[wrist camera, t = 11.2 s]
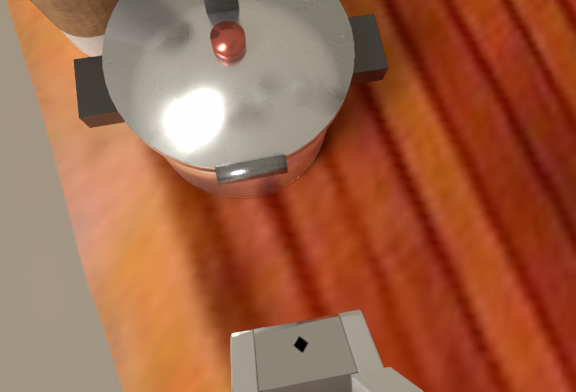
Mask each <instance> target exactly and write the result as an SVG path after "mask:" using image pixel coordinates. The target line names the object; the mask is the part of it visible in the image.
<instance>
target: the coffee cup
mask: <svg viewBox="0 0 576 392" xmlns="http://www.w3.org/2000/svg"><path fill="white" fill-rule="evenodd" d="M30 1H31V2H32V3H33V4H34V5H35V6H36V7H37V8H38V9H39V10H40V11H41V12H42V13H43V14H44V15H45V16H46V17H48V18H49V19H50V20H51V21H52V22H53V23H54V24H55V25H56V26H57V27H58V28H59V29H60V30H61V31H62V32H63V33H64V34H65V35H66V36H67V37H68V38H69V39H70V40H71V41H72V42H73V43H74V44H75V45H76V46H77V47H78V48H79V49H80V50H81V51H82V52H83V53H85V54H87V55H88V56H91V57H95V56H101V55H102V50H103V41H104V35H105V32H106V28H107V24H108V22H109V19H110V17H111V14H112V12H113V10H114V8H115V6H116V5H117V3H118V1H119V0H30Z"/></svg>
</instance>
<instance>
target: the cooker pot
mask: <svg viewBox="0 0 576 392" xmlns="http://www.w3.org/2000/svg"><path fill="white" fill-rule="evenodd" d="M348 20H349V23H350V26H351V29H352V34H353V39H354V52H355V60H354V69H353V75H352V79H351V82H350V85H353V84H360V83H366V82H372V81H378V80H382V79H383V77H384V75H385V73H386V71H387V69H388V64H387V61H386V57H385V53H384V49H383V46H382V42H381V38H380V34H379V31H378V27H377V23H376V20H375V16H374V14H369V15H363V16H356V17H350V18H348ZM74 68H75V79H76V90H77V101H78V111H79V118H80V119H81V120H82V121H83V122H84V123H85V124H86V125H87V126H89V127H90V128H92V127H98V126H104V125H110V124H116V123H122V122H125V120H124V119H123V118H122V116H121V115H120V114H119V112H118V111H117V109H116V107H115V105H114V103H113V101H112V99H111V97H110V94H109V92H108V89H107V86H106V83H105V78H104V72H103V63H102V55H101V56H95V57H88V58H81V59H75V60H74ZM326 131H327V129H326ZM326 131H325V132H324V133H323V134H322V135H321V136H320V137H319V138H318V139H317V140H316V141H315V142H314V143H313V144H311V145H310V146H309V147H307V148H306V149H304V150H303V151H302V152H300V153H299V154H297V155H295V156H293V157H291V158H290V159H288V160H287V166H288V173H286V174H280V175H275V176H269V177H263V178H258V179H252V180H246V181H241V182H235V183H229V184H224V185H218V182H217V178H216V173H215V172H208V171H201V170H197V169H194V168H190V167H186V166H184V165H181V164H179V163H177V162H174V161H172V160H170V159H168V158H166V157H165V158H166V159H167V161H168V162H169V163H170V165H171V166H172V167H173V168H174V170H175V171H176V172H177V173H178V174H179V175H180V176H181V177H182V178H184V179H185V180H186V181H187V182H189V183H190V184H191V185H193V186H195V187H196V188H198V189H200V190H202V191H204V192H207V193H209V194H212V195H215V196H219V197H223V198H230V199H251V198H258V197H262V196H266V195H270V194H272V193H275V192H277V191H280V190H281V189H283V188H285V187H287V186H289V185H290V184H292V183H293V182H294V181H296V180H297V179H298V178H299V177H300V176H301V175H303V174H304V173H305V172H306V171H307V169H308V168H309V167H310V166H311V164H312V163H313V162H314V160H315V158H316V157H317V155H318V153H319V151H320V149H321V146H322V144H323V141H324V138H325V134H326Z"/></svg>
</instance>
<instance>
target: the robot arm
mask: <svg viewBox="0 0 576 392" xmlns="http://www.w3.org/2000/svg"><path fill="white" fill-rule="evenodd" d="M230 344H231V385H232V392H424V391H422V390H421V389H420V388H418V387H417V386H416V385H414V384H413V383H412V382H410V381H409V380H408V379H406V378H405V377H404V376H402V375H401V374H400V373H398V372H397V371H395V370H394V369H393V368H391V367H387V368H384V367H383V364H382V362H381V359H380V357H379V354H378V351H377V349H376V346H375V344H374V341H373V339H372V336H371V334H370V331H369V329H368V326H367V324H366V321H365V319H364V316H363V313H362V312H361V311H360V310H355V311H350V312H345V313H339V314H334V315H329V316H323V317H318V318H313V319H308V320H303V321H298V322H296V323H290V324H283V325H277V326H271V327H265V328H258V329H254V330H248V331H242V332H236V333H232V334H231V339H230Z"/></svg>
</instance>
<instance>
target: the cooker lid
mask: <svg viewBox="0 0 576 392" xmlns="http://www.w3.org/2000/svg"><path fill="white" fill-rule="evenodd" d="M354 60H355V52H354V39H353V34H352V29H351V26H350V23H349V20H348V16H347V14H346V12H345V10H344V8H343V6H342V4H341V2H340V1H339V0H119V1H118V3H117V5H116V6H115V8H114V10H113V12H112V14H111V17H110V19H109V22H108V24H107V28H106V32H105V35H104V41H103V50H102V63H103V72H104V78H105V83H106V86H107V89H108V92H109V94H110V97H111V99H112V101H113V103H114V105H115V107H116V109H117V111H118V112H119V114H120V115H121V116H122V118H123V119H124V120H125V122H126V123H127V125H128V126H129V127H130V128H131V129H132V130H133V131H134V132H135V133H136V135H137V136H138V137H139V138H140V139H141V140H142V141H143V142H144V143H146V144H147V145H148V146H150V147H151V148H152V149H153V150H155V151H156V152H158V153H159V154H161V155H163V156H164V157H166V158H168V159H170V160H172V161H174V162H177V163H179V164H181V165H184V166H186V167H190V168H194V169H197V170H201V171H208V172H215V173H216V178H217V182H218V185H224V184H229V183H235V182H241V181H246V180H252V179H258V178H263V177H269V176H275V175H280V174H286V173H288V166H287V160H288V159H290V158H291V157H293V156H295V155H297V154H299V153H300V152H302V151H303V150H304V149H306V148H307V147H309V146H310V145H311V144H313V143H314V142H315V141H316V140H317V139H318V138H319V137H320V136H321V135H322V134H323V133H324V132H325V131H326V129H327V128H328V127H329V126H330V124H331V123H332V122H333V121H334V119H335V117H336V116H337V114H338V112H339V111H340V109H341V107H342V104H343V102H344V100H345V97H346V95H347V92H348V89H349V86H350V82H351V79H352V75H353V69H354Z"/></svg>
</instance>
